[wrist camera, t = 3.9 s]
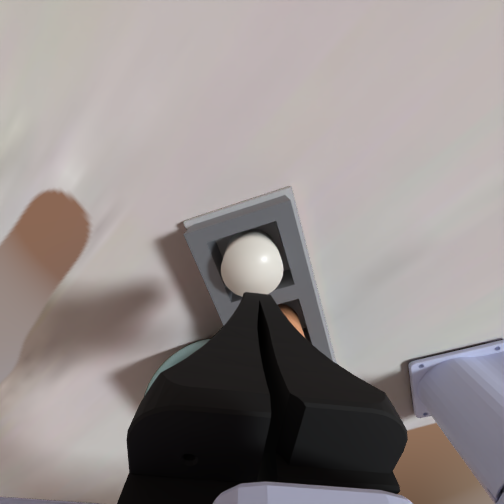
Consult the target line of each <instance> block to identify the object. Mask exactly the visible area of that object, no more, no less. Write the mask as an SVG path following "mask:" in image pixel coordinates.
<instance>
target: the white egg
mask: <svg viewBox="0 0 504 504" xmlns="http://www.w3.org/2000/svg"><path fill="white" fill-rule="evenodd" d="M221 275H222V279H223V281H224V283H225V285H226V286H227V287H228V288H229V289H230V290H231V291H232V292H233V293H235V294H237V295H239V296H241V297H243V293H245V292H251V293H260V294H269V293H271V292H272V291H273V290H275V289H276V287H277V286H278V285H279V283H280V282H281V279H282V276H283V263H282V260H281V257H280V253H279V250H278V247H277V244H276V242H275V241H274V239H273V238H272V237H271V236H270V235H269V234H268V233H266V232H264V231H262V230H258V229H249V230H246V231H243V232H239V233H237V234H235V235H234V236H233V237H232V238H231V239H230V241H229V242H228V244H227V247H226V251H225V254H224V257H223V261H222V264H221Z"/></svg>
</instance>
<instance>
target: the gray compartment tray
mask: <svg viewBox="0 0 504 504" xmlns="http://www.w3.org/2000/svg"><path fill="white" fill-rule="evenodd" d="M183 223H184V225H185V227H186V230H187V231H186V232H185V233H184V237H185V239H186V241H187V244H188V246H189V248H190V250H191V253H192V255H193V257H194V259H195V262H196V264H197V266H198V269H199V271H200V273H201V275H202V278H203V280H204V282H205V284H206V287H207V289H208V291H209V294H210V296H211V298H212V300H213V303H214V305H215V307H216V310H217V312H218V314H219V316H220V319H221V321H222V323H223V325H225V324H226V323H227V321H228V320H229V319H230V317H231V316H232V315H233V313H234V312H235V310H236V309H237V307H238V305H239V304H240V302H241V299H242V297H241V296H239V295H237V294H235V293H233V292H232V291H231V290H230V289H229V288H228V287H227V286H226V285H225V283H224V281H223V279H222V275H221V264H222V261H223V257H224V254H225V251H226V247H227V244H228V242H229V241H230V239H231V238H232V237H233V236H234V235H235V234H237V233H239V232H243V231H246V230H249V229H258V230H262V231H264V232H266V233H268V234H269V235H270V236H271V237H272V238H273V239H274V241H275V242H276V244H277V247H278V250H279V253H280V257H281V260H282V263H283V276H282V279H281V282H280V283H279V285H278V286H277V287H276V289H275V290H273V291H272V292H271V293H269V295H271V296H272V298H273V299H274V300H275V302H276V303H277V304H285V305H287V306H289V307H291V308H292V309H293V310H294V311H295V312H296V313H297V315H298V317H299V320H300V323H301V326H302V330H303V333H304V336H305V338H306V339H307V340H308V341H309V342H310V343H311V344H312V345H313V346H314V347H316V348H317V349H318V350H319V351H320V352H322V353H323V354H324V355H326V356H327V357H328V358H329V359H331V360H332V361H333V362H335V363H336V359H335V355H334V351H333V347H332V343H331V339H330V335H329V332H328V328H327V324H326V320H325V316H324V312H323V308H322V304H321V300H320V296H319V292H318V288H317V284H316V281H315V277H314V273H313V269H312V265H311V261H310V257H309V253H308V249H307V245H306V241H305V237H304V234H303V230H302V226H301V222H300V218H299V214H298V210H297V206H296V202H295V198H294V194H293V190H292V187H291V186H288V187H285V188H282V189H279V190H276V191H273V192H270V193H267V194H264V195H261V196H258V197H254V198H251V199H248V200H245V201H242V202H239V203H236V204H233V205H230V206H227V207H224V208H221V209H218V210H215V211H212V212H209V213H206V214H203V215H200V216H197V217H193V218H190V219H187V220H185V221H184V222H183ZM336 364H337V363H336Z"/></svg>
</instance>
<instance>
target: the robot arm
mask: <svg viewBox="0 0 504 504" xmlns="http://www.w3.org/2000/svg"><path fill="white" fill-rule="evenodd" d="M409 375H410V383H411V391H412V400H413V408H414V414H415V415H416V417H417V418H423V417H428V416H432V417H433V418H434V420H435V421H436V423H437V424H438V425H439V427H440V428H441V430H442V431H443V432H444V434H445V435H446V436H447V438H448V439H449V441H450V442H451V443H452V445H453V446H454V448H455V449H456V450H457V452H458V453H459V454H460V456H461V457H462V459H463V460H464V461H465V463H466V464H467V466H468V467H469V469H470V470H471V471H472V473H473V474H474V475H475V477H476V478H477V480H478V481H479V482H480V484H481V485H482V487H483V488H484V489H485V491H486V492H487V494H488V495H489V496H490V498H491V499H492V501H493V502H494V503H495V504H504V340H500V341H496V342H491V343H487V344H483V345H479V346H474V347H470V348H466V349H462V350H457V351H453V352H449V353H445V354H440V355H436V356H432V357H428V358H423V359H419V360H415V361H411V362H410V363H409ZM406 442H407V430H406V428H405V426H404V424H403V422H402V420H401V419H400V417H399V415H398V413H397V412H396V410H395V408H394V406H393V405H392V403H391V402H390V400H389V398H388V397H387V396H386V394H385V392H383V391H381V390H379V389H377V388H376V387H374V386H372V385H370V384H368V383H367V382H365V381H363V380H361V379H359V378H358V377H356V376H354V375H353V374H351V373H350V372H348V371H347V370H345V369H344V368H342V367H341V366H339V365H338V364H336V363H335V362H333V361H332V360H331V359H329V358H328V357H327V356H326V355H324V354H323V353H322V352H320V351H319V350H318V349H317V348H316V347H314V346H313V345H312V344H311V343H310V342H309V341H308V340H307V339H306V338H305V337H304V336H303V335H302V334H301V333H300V332H299V331H298V330H297V329H296V328H295V327H294V326H293V325H292V324H291V322H290V321H289V320H288V319H287V317H286V316H285V315H284V313H283V312H282V311H281V309H280V308H279V306H278V305H277V303H276V302H275V300H274V299H273V298H272V296H271V295H269V294H260V293H251V292H245V293H243V297H242V299H241V302H240V304H239V305H238V307H237V309H236V310H235V312H234V313H233V315H232V316H231V317H230V319H229V320H228V321H227V323H226V324H225V325H224V326H223V327H222V328H221V330H220V331H219V332H218V333H217V334H216V335H215V336H214V337H213V338H211V339H210V340H209V341H208V342H207V343H206V344H205V345H203V346H202V347H201V348H200V349H198V350H197V351H195V352H194V353H193V354H191V355H190V356H188V357H187V358H186V359H184V360H183V361H181V362H179V363H177V364H175V365H174V366H172V367H170V368H168V369H166V370H164V371H162V372H161V373H160V374H159V375H158V377H157V378H156V379H155V381H154V382H153V384H152V385H151V387H150V388H149V390H148V392H147V393H146V395H145V396H144V398H143V400H142V401H141V403H140V405H139V407H138V409H137V412H136V414H135V416H134V418H133V420H132V422H131V425H130V427H129V429H128V433H127V449H128V461H129V475H128V477H127V480H126V482H125V485H124V487H123V490H122V492H121V495H120V498H119V500H118V503H117V504H412V502H411V501H410V500H408V499H407V498H405V497H403V496H402V495H398V493H399V492H400V487H399V484H398V482H397V480H396V478H395V476H394V474H393V469H394V468H395V466H396V464H397V462H398V460H399V458H400V457H401V455H402V453H403V451H404V448H405V445H406ZM0 504H99V503H85V502H70V501H56V500H41V499H27V498H12V497H0Z"/></svg>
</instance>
